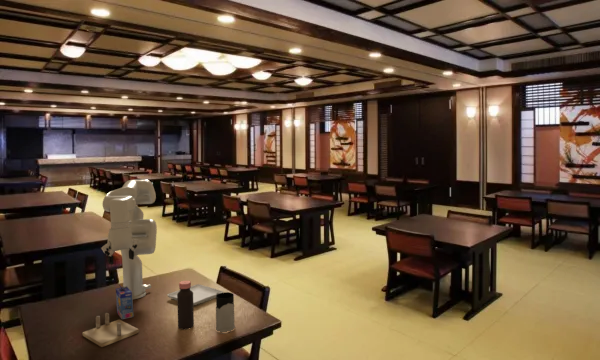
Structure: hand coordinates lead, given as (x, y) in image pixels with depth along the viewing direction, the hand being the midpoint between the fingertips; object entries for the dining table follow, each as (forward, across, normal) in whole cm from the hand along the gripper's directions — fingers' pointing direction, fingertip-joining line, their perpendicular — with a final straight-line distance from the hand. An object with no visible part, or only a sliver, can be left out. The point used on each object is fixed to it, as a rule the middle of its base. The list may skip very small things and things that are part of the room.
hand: (121, 261), depth 188 cm
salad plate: (+27, -35, +8) cm, 45 cm away
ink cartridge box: (+26, 0, 0) cm, 26 cm away
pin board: (+26, +13, +14) cm, 32 cm away
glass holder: (+26, -22, +46) cm, 57 cm away
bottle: (+26, -12, +33) cm, 43 cm away
